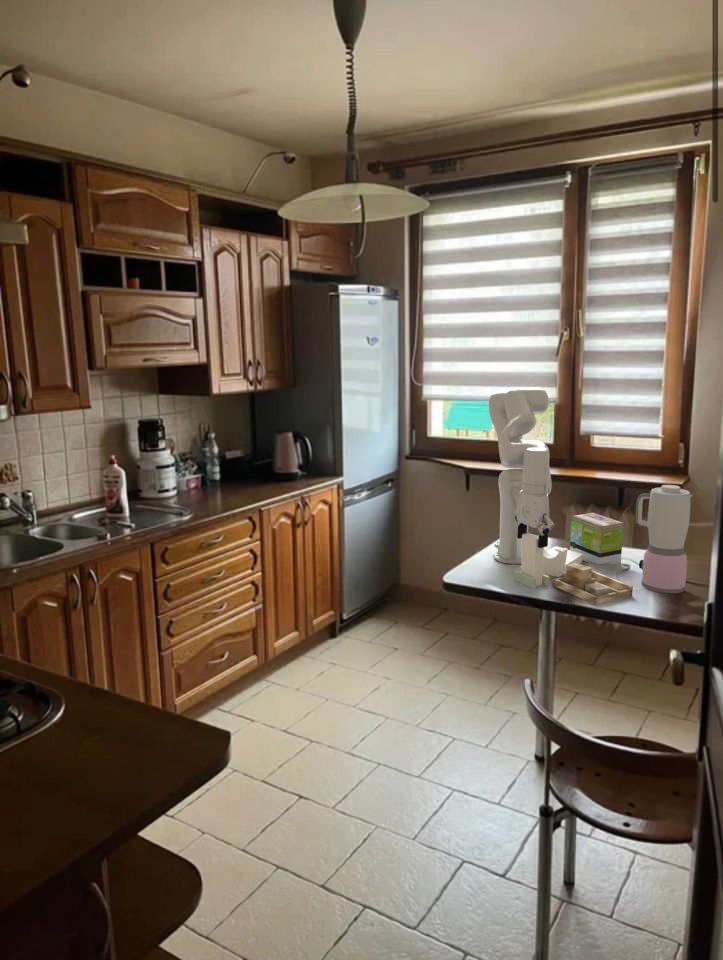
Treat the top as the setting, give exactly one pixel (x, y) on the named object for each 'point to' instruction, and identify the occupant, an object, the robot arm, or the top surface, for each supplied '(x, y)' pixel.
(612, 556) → the tea box
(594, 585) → the offcut
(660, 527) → the blender
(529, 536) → the tall board
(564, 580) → the offcut
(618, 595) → the tray
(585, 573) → the offcut
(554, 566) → the white saddle block
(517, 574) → the holder
